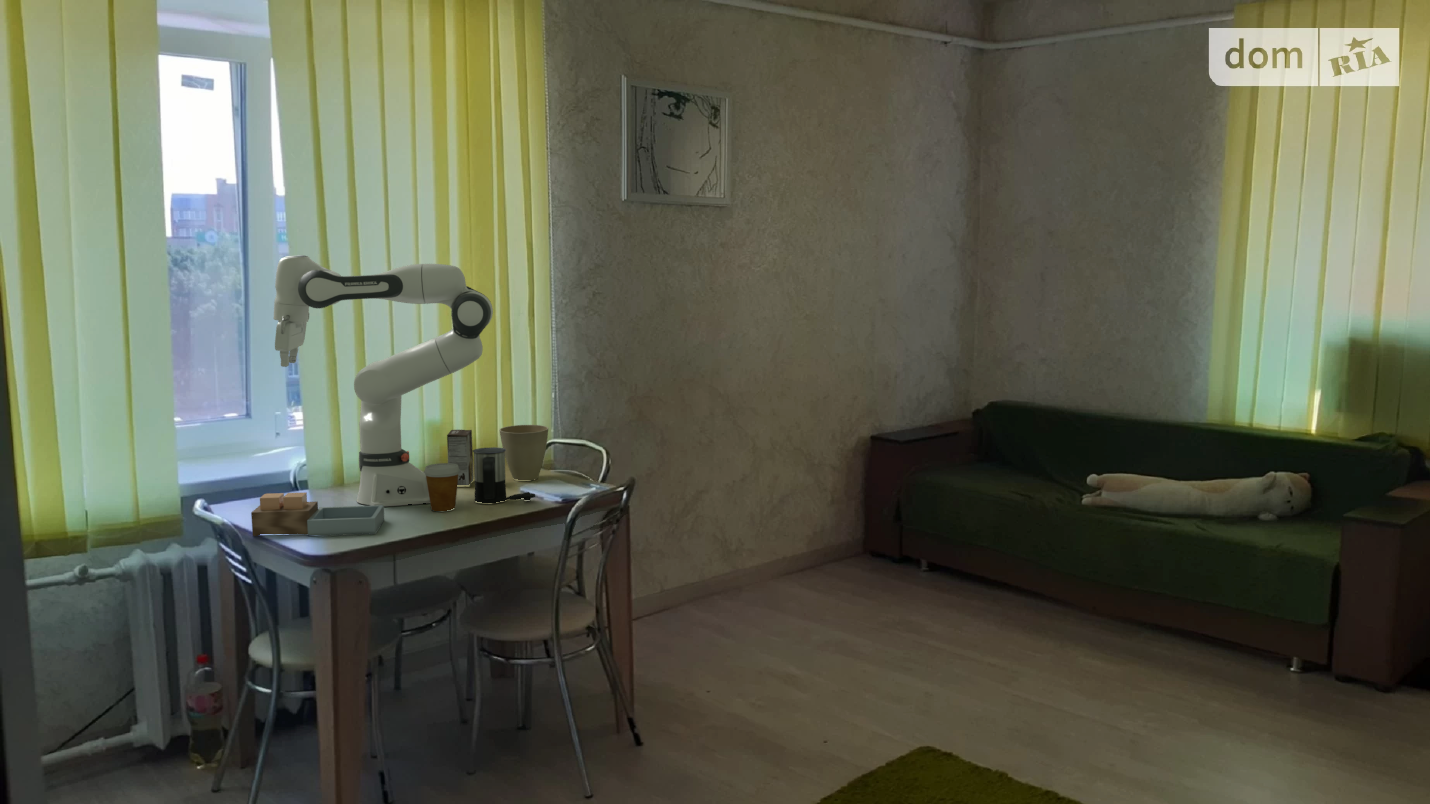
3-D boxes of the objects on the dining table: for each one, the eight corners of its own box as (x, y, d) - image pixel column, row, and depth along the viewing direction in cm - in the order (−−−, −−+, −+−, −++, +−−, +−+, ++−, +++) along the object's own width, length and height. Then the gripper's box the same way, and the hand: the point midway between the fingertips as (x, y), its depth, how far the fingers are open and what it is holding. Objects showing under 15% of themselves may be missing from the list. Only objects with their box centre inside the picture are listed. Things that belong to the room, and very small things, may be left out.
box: (384, 520, 277) (383, 505, 277) (375, 533, 263) (374, 518, 263) (320, 522, 275) (319, 507, 274) (308, 536, 261) (307, 520, 260)
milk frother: (470, 499, 301) (468, 448, 299) (524, 494, 308) (522, 443, 306) (483, 510, 288) (482, 456, 286) (539, 504, 295) (538, 451, 293)
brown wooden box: (318, 524, 273) (317, 501, 272) (309, 534, 263) (308, 510, 262) (263, 526, 271) (262, 503, 270) (252, 536, 261) (251, 512, 260)
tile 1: (284, 504, 268) (283, 493, 268) (279, 509, 264) (278, 497, 263) (265, 505, 268) (265, 493, 267) (260, 509, 263) (259, 498, 262)
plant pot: (502, 474, 334) (501, 425, 332) (550, 474, 336) (549, 424, 334) (498, 485, 320) (497, 432, 317) (548, 484, 321) (547, 432, 319)
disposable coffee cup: (467, 506, 292) (465, 463, 291) (451, 514, 283) (449, 470, 282) (435, 504, 295) (434, 462, 293) (418, 512, 285) (417, 468, 284)
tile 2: (307, 503, 269) (306, 492, 269) (302, 508, 264) (301, 496, 264) (288, 504, 269) (288, 492, 268) (283, 509, 264) (283, 497, 263)
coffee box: (452, 481, 325) (451, 429, 323) (474, 481, 325) (472, 429, 323) (447, 487, 316) (446, 434, 314) (469, 487, 316) (468, 434, 314)
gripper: (295, 317, 280) (292, 369, 281) (310, 313, 300) (307, 361, 301) (270, 315, 279) (267, 367, 280) (287, 311, 298) (284, 359, 300)
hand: (288, 364), depth 291 cm, fingers open, 8 cm apart
